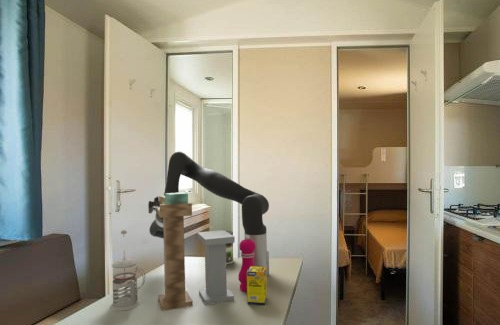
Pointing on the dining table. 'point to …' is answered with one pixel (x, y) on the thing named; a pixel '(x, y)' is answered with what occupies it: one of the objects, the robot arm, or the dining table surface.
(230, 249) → the coffee can
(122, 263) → the french press
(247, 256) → the pepper mill
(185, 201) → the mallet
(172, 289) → the walnut stand
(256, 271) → the supplement box
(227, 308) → the dining table surface
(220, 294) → the slate pedestal
